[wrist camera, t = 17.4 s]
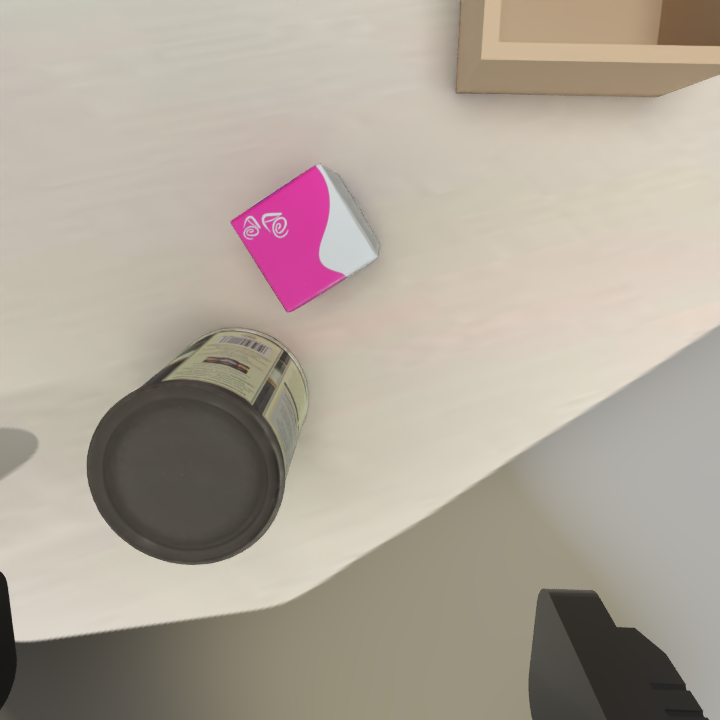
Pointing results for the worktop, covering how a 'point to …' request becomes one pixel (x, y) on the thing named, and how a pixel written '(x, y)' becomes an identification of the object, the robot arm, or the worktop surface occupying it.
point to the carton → (587, 46)
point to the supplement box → (307, 236)
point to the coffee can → (201, 449)
